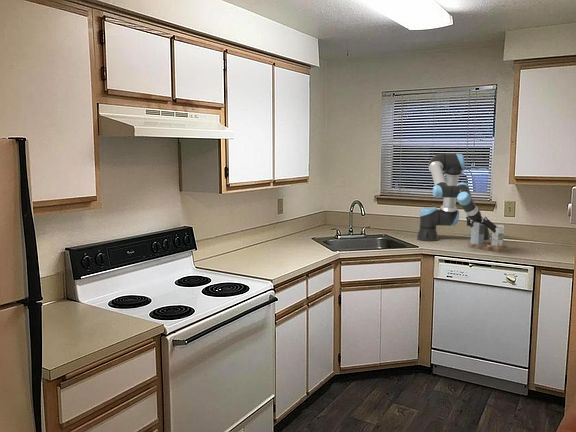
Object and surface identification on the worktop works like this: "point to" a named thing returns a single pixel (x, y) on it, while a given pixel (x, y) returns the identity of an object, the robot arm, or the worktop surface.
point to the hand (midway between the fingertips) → (486, 233)
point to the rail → (489, 247)
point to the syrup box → (497, 236)
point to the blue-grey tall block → (478, 234)
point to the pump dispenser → (486, 235)
